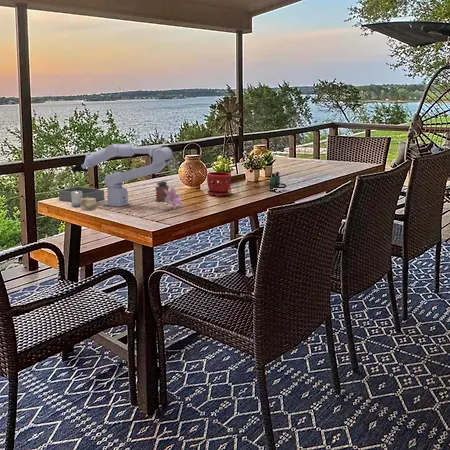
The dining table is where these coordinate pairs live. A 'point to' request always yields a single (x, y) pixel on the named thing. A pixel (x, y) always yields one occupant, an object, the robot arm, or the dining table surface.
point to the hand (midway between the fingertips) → (76, 167)
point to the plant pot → (220, 187)
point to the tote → (86, 192)
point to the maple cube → (88, 203)
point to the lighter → (161, 191)
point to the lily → (173, 197)
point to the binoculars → (275, 181)
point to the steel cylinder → (76, 198)
